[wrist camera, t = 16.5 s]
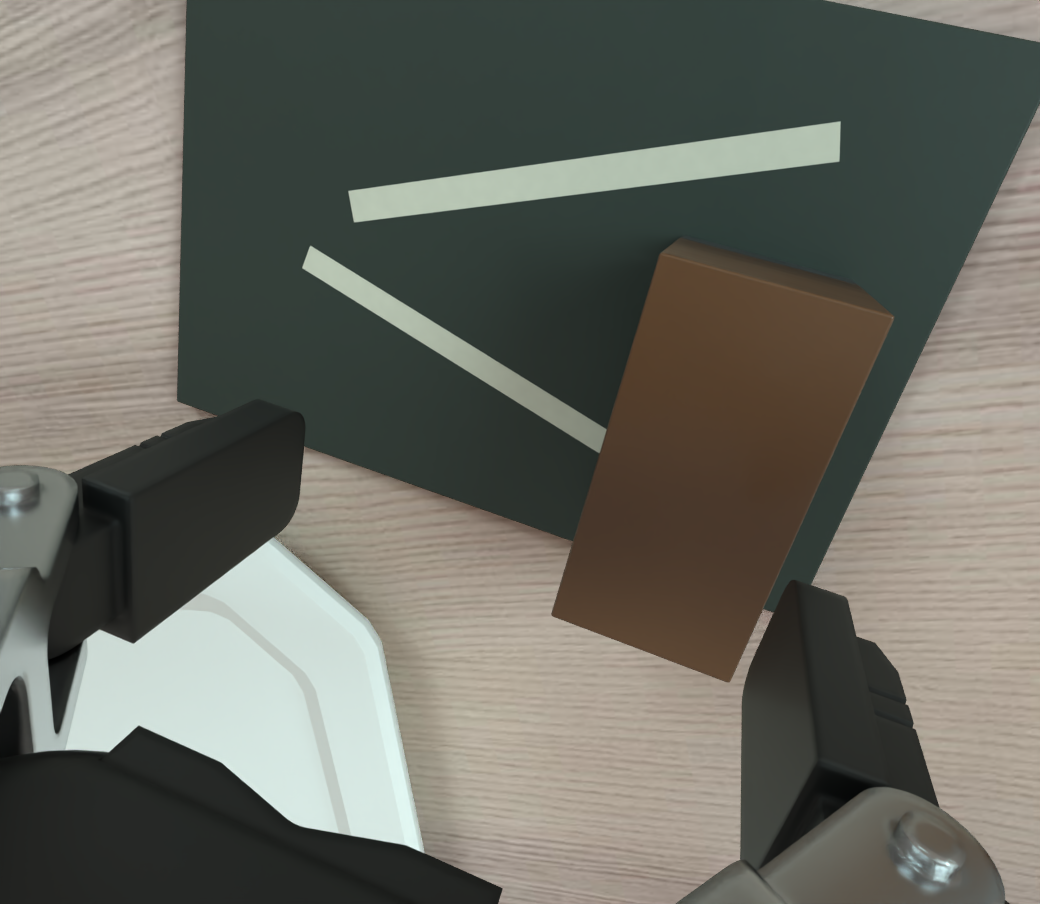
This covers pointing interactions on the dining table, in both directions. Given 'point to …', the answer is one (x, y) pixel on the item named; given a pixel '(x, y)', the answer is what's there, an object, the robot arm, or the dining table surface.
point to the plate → (265, 697)
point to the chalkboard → (558, 212)
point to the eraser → (715, 449)
